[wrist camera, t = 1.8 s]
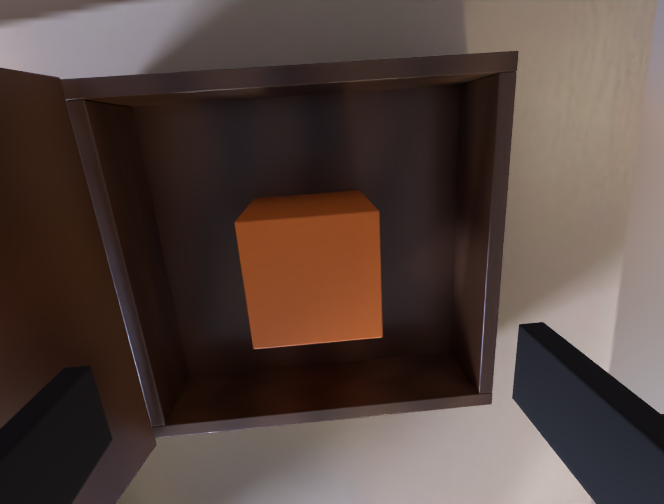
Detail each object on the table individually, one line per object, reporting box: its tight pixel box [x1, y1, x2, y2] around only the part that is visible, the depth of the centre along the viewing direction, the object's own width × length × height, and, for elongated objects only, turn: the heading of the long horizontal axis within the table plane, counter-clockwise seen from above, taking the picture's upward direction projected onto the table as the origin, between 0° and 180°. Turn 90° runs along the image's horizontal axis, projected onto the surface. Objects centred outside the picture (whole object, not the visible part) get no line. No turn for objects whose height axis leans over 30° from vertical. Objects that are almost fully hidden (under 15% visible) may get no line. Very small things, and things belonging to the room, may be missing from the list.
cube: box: [234, 190, 383, 349], centre depth 22 cm, size 7×7×7 cm
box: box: [60, 51, 518, 438], centre depth 24 cm, size 22×21×6 cm
